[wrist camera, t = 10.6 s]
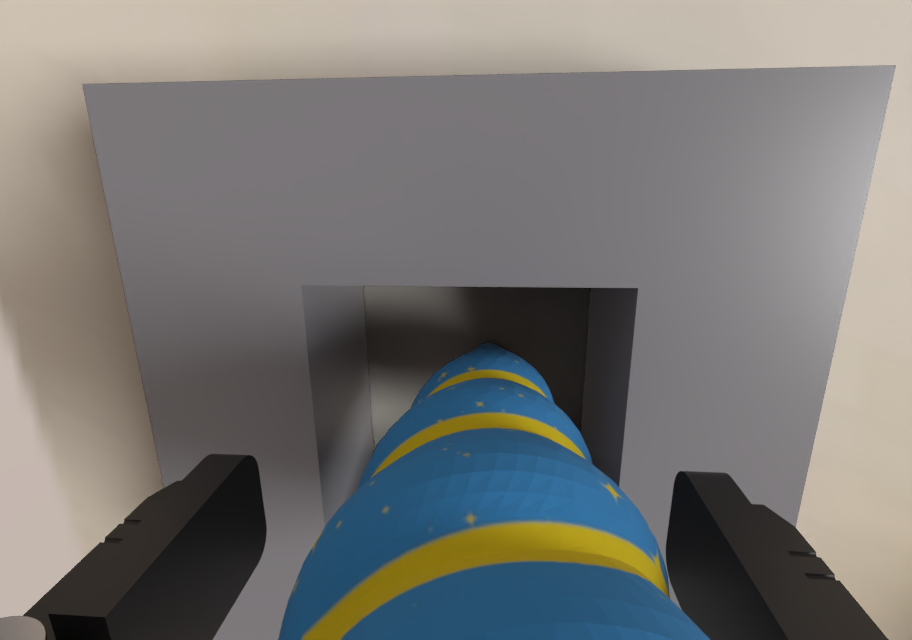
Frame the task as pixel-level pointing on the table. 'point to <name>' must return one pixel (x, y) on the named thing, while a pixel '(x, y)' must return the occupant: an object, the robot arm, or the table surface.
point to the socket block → (488, 263)
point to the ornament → (485, 528)
